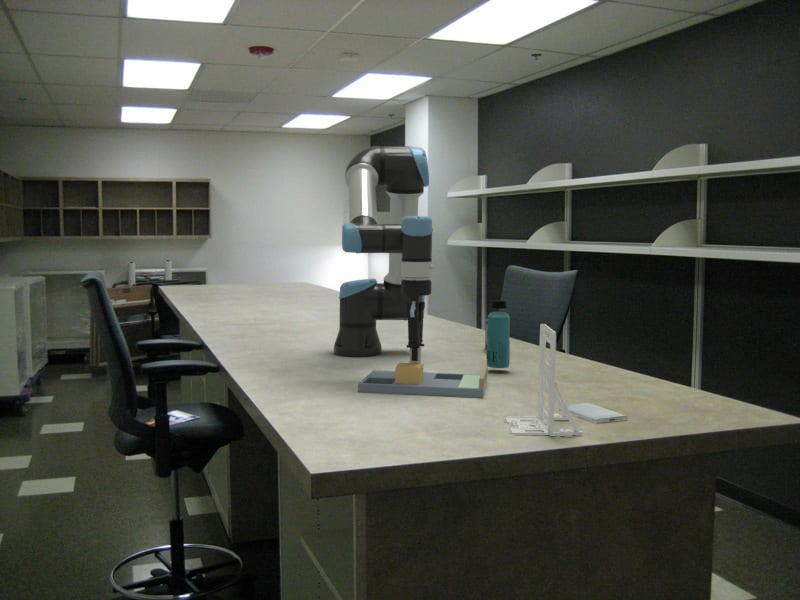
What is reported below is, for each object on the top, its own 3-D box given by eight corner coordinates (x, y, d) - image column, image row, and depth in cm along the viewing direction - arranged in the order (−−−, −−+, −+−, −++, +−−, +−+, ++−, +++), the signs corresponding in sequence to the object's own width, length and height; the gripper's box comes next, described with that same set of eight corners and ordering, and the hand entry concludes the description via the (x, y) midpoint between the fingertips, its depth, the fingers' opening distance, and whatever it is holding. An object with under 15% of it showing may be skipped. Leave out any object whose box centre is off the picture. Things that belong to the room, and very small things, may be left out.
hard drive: (559, 405, 163) (596, 418, 152) (589, 402, 167) (627, 414, 156) (559, 413, 163) (596, 426, 152) (589, 409, 167) (627, 422, 156)
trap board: (358, 391, 180) (358, 373, 180) (373, 377, 198) (373, 360, 197) (483, 397, 175) (483, 378, 175) (487, 382, 193) (487, 365, 192)
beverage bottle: (512, 370, 210) (514, 299, 208) (505, 374, 204) (507, 301, 202) (490, 368, 212) (491, 298, 210) (482, 372, 206) (484, 300, 204)
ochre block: (395, 383, 181) (395, 366, 180) (399, 378, 187) (399, 362, 186) (419, 384, 180) (419, 367, 179) (423, 379, 186) (423, 363, 185)
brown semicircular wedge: (507, 354, 236) (508, 323, 236) (488, 354, 237) (488, 323, 236) (503, 348, 249) (503, 319, 248) (484, 348, 249) (485, 318, 248)
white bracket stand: (502, 417, 157) (504, 323, 155) (568, 418, 156) (571, 323, 154) (510, 436, 142) (512, 332, 140) (583, 437, 142) (587, 333, 140)
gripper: (427, 281, 177) (426, 378, 180) (434, 277, 190) (433, 368, 192) (396, 280, 179) (395, 377, 181) (405, 276, 191) (404, 367, 194)
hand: (415, 373), depth 187 cm, fingers closed
